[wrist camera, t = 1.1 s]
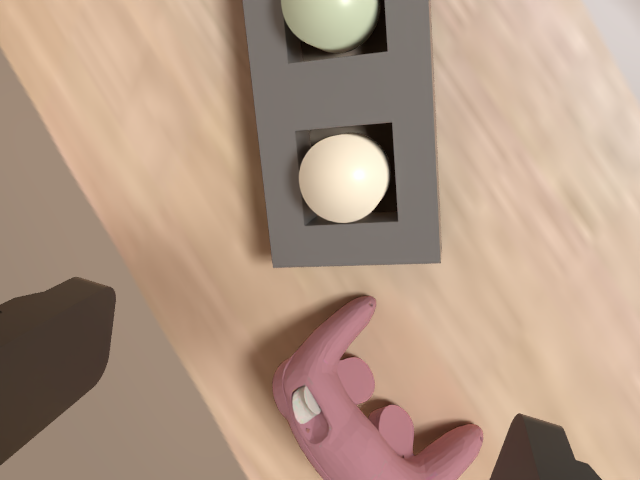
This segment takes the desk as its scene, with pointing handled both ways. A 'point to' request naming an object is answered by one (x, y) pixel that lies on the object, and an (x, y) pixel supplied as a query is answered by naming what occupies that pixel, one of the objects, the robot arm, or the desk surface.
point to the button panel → (339, 111)
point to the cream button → (344, 177)
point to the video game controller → (358, 412)
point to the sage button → (332, 22)
